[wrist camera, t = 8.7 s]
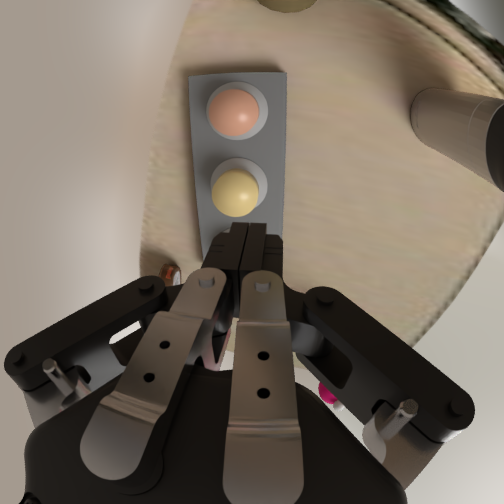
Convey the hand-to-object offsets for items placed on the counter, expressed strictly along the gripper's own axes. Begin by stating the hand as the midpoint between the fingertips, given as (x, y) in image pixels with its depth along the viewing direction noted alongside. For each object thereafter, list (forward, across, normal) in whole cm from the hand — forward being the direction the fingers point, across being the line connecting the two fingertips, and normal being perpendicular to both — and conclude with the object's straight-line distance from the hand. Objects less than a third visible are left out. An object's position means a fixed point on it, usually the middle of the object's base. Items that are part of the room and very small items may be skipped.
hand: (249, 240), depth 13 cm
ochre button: (+23, +4, +6) cm, 24 cm away
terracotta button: (+24, +4, -4) cm, 24 cm away
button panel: (+27, +4, +6) cm, 28 cm away
